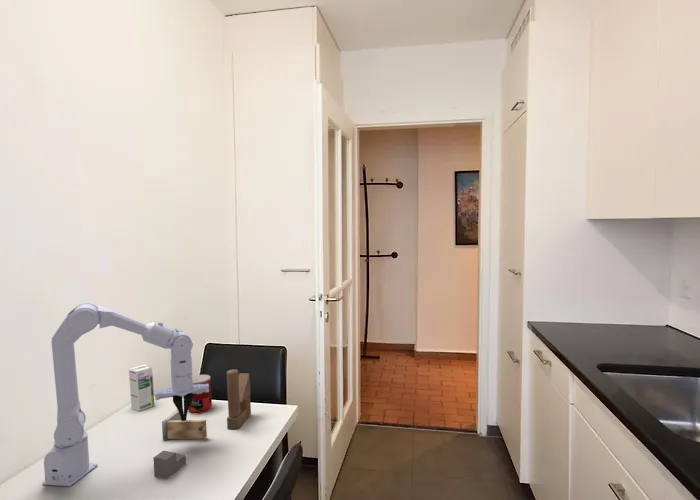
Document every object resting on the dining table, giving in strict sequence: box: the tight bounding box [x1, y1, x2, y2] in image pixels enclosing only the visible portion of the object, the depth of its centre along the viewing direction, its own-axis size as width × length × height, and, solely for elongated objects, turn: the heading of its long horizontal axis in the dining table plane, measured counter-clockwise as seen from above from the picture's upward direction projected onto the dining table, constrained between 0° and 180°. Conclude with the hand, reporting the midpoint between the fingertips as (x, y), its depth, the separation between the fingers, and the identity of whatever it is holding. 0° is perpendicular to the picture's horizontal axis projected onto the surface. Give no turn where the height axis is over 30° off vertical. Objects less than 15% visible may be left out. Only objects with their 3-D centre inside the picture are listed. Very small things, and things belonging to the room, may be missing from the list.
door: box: [167, 419, 208, 440], centre depth 125 cm, size 12×3×5 cm, turn 88°
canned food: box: [188, 374, 213, 414], centre depth 146 cm, size 8×8×11 cm
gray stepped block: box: [152, 450, 187, 480], centre depth 109 cm, size 7×4×5 cm, turn 162°
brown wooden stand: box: [226, 368, 252, 430], centre depth 135 cm, size 4×11×18 cm, turn 171°
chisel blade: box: [161, 409, 181, 441], centre depth 129 cm, size 9×1×6 cm, turn 172°
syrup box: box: [128, 364, 155, 412], centre depth 149 cm, size 6×6×14 cm
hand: (183, 419), depth 122 cm, fingers closed
